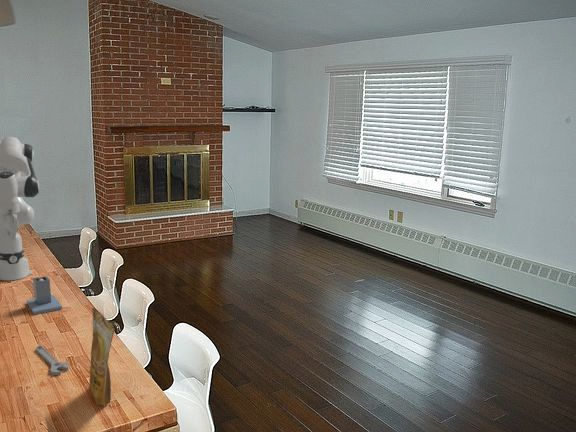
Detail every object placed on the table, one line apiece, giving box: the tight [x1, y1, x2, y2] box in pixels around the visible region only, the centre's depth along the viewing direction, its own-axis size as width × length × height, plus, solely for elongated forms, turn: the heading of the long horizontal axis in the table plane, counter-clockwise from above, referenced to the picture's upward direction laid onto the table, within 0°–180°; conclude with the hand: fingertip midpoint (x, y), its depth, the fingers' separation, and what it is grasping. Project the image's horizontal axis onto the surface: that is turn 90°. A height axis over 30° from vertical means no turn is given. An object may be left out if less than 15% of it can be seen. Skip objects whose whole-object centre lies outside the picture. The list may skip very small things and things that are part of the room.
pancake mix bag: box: [88, 307, 115, 408], centre depth 178 cm, size 7×19×28 cm, turn 30°
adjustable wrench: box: [35, 345, 70, 376], centre depth 203 cm, size 25×6×2 cm, turn 38°
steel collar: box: [32, 276, 52, 305], centre depth 252 cm, size 6×6×11 cm
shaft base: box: [26, 279, 63, 316], centre depth 250 cm, size 16×12×12 cm
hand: (11, 237), depth 250 cm, fingers open, 8 cm apart
